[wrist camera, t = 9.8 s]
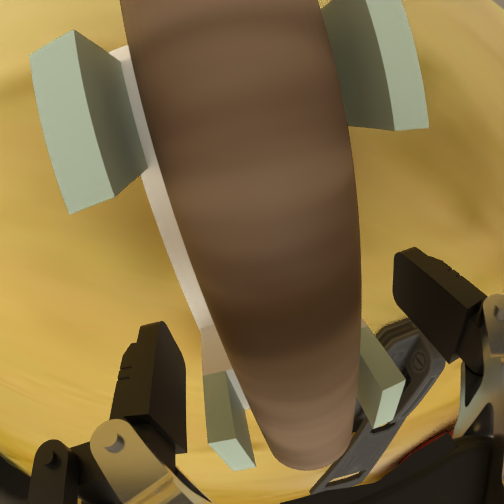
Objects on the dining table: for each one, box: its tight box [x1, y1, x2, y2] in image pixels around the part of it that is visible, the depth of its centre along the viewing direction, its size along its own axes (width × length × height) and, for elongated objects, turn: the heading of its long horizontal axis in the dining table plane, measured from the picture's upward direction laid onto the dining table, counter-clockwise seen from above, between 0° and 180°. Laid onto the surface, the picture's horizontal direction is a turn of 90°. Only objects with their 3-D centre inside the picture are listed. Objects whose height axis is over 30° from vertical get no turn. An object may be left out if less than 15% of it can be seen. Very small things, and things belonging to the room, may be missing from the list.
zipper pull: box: [309, 318, 446, 495], centre depth 24 cm, size 9×7×25 cm
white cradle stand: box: [29, 0, 429, 471], centre depth 12 cm, size 22×9×9 cm, turn 13°
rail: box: [120, 0, 361, 471], centre depth 9 cm, size 20×5×5 cm, turn 13°
